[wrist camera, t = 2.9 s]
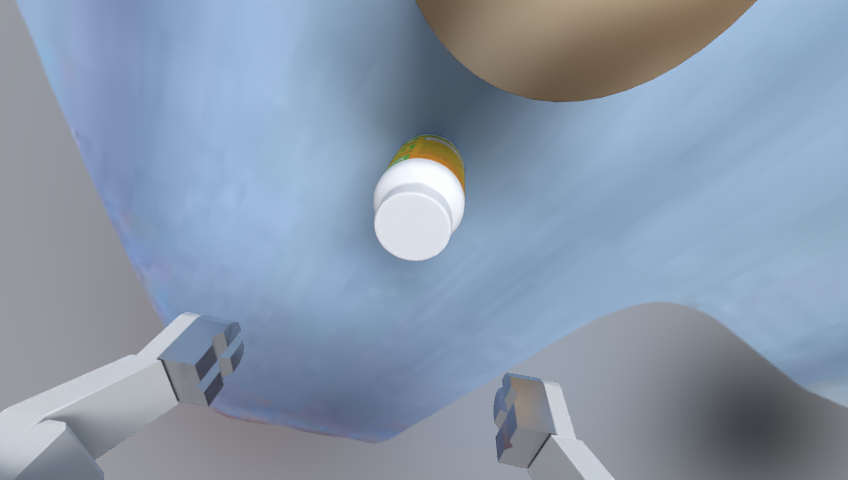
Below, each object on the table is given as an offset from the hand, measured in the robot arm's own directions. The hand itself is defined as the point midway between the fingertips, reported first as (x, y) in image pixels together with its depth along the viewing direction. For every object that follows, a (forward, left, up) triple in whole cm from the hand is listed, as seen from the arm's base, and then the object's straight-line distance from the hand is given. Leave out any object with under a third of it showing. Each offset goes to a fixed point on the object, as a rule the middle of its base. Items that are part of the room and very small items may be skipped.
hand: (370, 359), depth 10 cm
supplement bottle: (0, 0, -19) cm, 19 cm away
